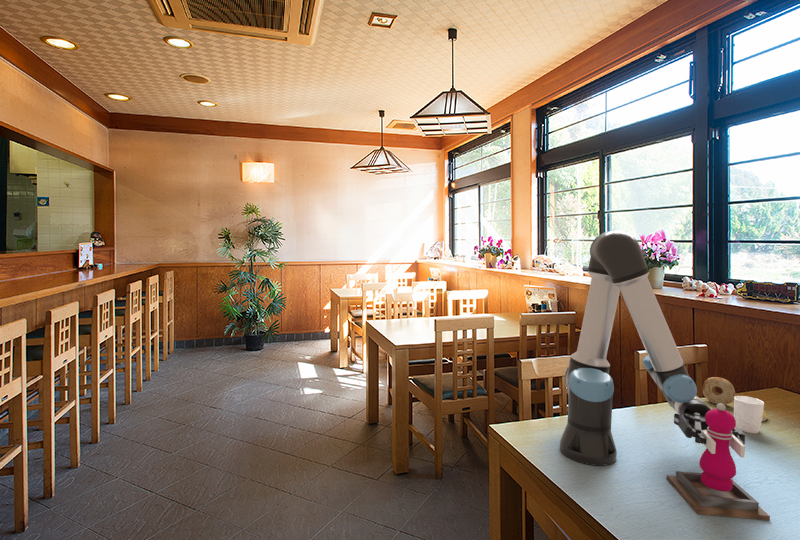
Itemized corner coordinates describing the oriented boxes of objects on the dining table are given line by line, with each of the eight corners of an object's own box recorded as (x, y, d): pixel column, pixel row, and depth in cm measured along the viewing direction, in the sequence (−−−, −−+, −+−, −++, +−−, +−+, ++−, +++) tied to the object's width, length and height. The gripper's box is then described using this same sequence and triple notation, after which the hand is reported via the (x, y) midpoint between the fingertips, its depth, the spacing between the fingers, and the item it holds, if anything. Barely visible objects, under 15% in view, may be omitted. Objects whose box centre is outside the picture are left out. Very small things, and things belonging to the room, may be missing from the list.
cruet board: (697, 513, 101) (698, 501, 101) (666, 478, 116) (667, 467, 116) (769, 520, 99) (770, 507, 99) (728, 483, 114) (729, 472, 114)
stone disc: (700, 400, 174) (701, 375, 174) (703, 398, 177) (705, 373, 176) (732, 408, 166) (734, 382, 165) (735, 406, 169) (737, 380, 168)
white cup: (767, 435, 143) (769, 405, 143) (739, 433, 145) (741, 403, 144) (753, 425, 151) (755, 396, 150) (727, 423, 153) (729, 394, 152)
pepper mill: (700, 473, 113) (704, 395, 111) (735, 483, 108) (741, 402, 107) (696, 485, 107) (701, 404, 106) (734, 496, 102) (739, 411, 101)
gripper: (731, 429, 121) (774, 472, 99) (657, 421, 127) (682, 459, 105) (733, 402, 121) (776, 439, 99) (658, 395, 126) (683, 428, 104)
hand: (727, 449), depth 102 cm, fingers closed on pepper mill, 5 cm apart
